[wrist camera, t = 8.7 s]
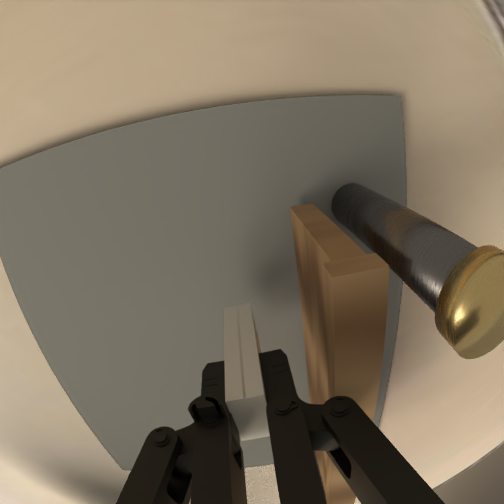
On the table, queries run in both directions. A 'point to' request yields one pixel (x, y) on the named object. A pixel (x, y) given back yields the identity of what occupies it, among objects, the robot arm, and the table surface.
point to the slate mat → (184, 248)
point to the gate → (339, 322)
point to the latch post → (432, 266)
